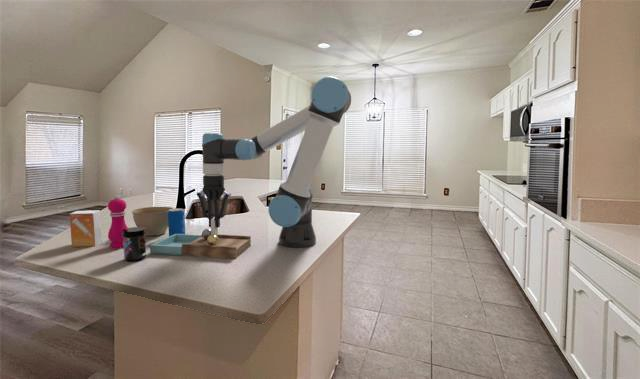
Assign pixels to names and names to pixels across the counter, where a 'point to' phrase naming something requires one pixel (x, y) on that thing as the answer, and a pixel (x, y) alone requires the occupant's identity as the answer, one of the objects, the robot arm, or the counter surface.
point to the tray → (172, 244)
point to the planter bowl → (152, 219)
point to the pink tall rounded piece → (117, 222)
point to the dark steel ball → (206, 233)
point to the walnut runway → (218, 247)
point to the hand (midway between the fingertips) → (214, 235)
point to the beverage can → (176, 221)
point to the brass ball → (212, 240)
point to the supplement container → (134, 244)
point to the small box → (85, 228)
